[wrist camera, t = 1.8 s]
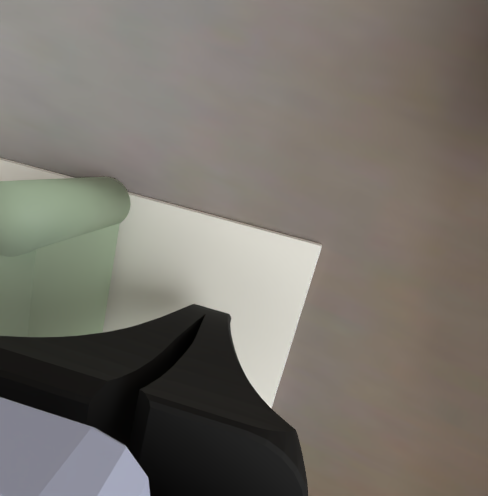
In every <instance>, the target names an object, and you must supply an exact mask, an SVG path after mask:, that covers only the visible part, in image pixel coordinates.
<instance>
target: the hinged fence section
mask: <svg viewBox="0 0 488 496" xmlns="http://www.w3.org/2000/svg"><path fill="white" fill-rule="evenodd" d="M129 211H130V197H129V194H128V191H127V190H126V188H125V187H124V185H123V184H122V183H120V182H119V181H118V180H116V179H114V178H111V177H85V178H62V179H40V180H17V181H0V336H16V337H65V336H79V335H87V334H95V333H102V332H103V326H104V320H105V313H106V307H107V301H108V294H109V288H110V282H111V275H112V269H113V263H114V256H115V250H116V244H117V237H118V231H119V225H120V223H121V222H122V221H123V220H124V219H125V218H126V217H127V215H128V213H129Z"/></svg>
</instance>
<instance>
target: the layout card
mask: <svg viewBox="0 0 488 496" xmlns="http://www.w3.org/2000/svg"><path fill="white" fill-rule="evenodd" d="M62 178H74V177H71V176H67V175H63V174H59V173H56V172H52V171H48V170H45V169H41V168H37V167H33V166H30V165H26V164H22V163H19V162H15V161H11V160H7V159H4V158H0V181H17V180H40V179H62ZM128 194H129V197H130V211H129V213H128V215H127V217H126V218H125V219H124V220H123V221H122V222H121V223H120V225H119V231H118V237H117V244H116V250H115V256H114V263H113V269H112V275H111V282H110V288H109V294H108V301H107V307H106V313H105V320H104V326H103V332H109V331H114V330H119V329H124V328H128V327H132V326H135V325H139V324H142V323H145V322H148V321H151V320H154V319H157V318H160V317H162V316H165V315H167V314H170V313H172V312H175V311H177V310H180V309H182V308H184V307H187V306H189V305H192V304H197V305H200V306H204V307H207V308H211V309H214V310H218V311H221V312H225V313H228V314H230V316H231V322H230V328H231V335H232V340H233V344H234V348H235V351H236V354H237V357H238V360H239V362H240V365H241V367H242V369H243V371H244V373H245V375H246V377H247V379H248V380H249V382H250V383H251V385H252V386H253V388H254V389H255V390H256V392H257V393H258V394H259V395H260V397H261V398H262V399H263V400H264V401H265V402H266V403H267V405H268V406H269V407H270V408H272V405H273V401H274V398H275V395H276V392H277V389H278V385H279V382H280V379H281V376H282V373H283V369H284V366H285V363H286V360H287V357H288V353H289V350H290V347H291V344H292V340H293V337H294V334H295V331H296V328H297V324H298V321H299V318H300V315H301V312H302V308H303V305H304V302H305V299H306V296H307V292H308V289H309V286H310V283H311V279H312V276H313V273H314V270H315V267H316V263H317V260H318V257H319V254H320V251H321V247H322V245H321V244H320V243H316V242H312V241H309V240H305V239H301V238H297V237H294V236H290V235H286V234H283V233H279V232H275V231H271V230H268V229H264V228H260V227H257V226H253V225H249V224H245V223H242V222H238V221H234V220H230V219H227V218H223V217H219V216H216V215H212V214H208V213H204V212H201V211H197V210H193V209H190V208H186V207H182V206H178V205H175V204H171V203H167V202H164V201H160V200H156V199H152V198H149V197H145V196H141V195H138V194H134V193H130V192H128ZM103 332H102V333H103Z"/></svg>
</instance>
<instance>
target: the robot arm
mask: <svg viewBox="0 0 488 496" xmlns="http://www.w3.org/2000/svg"><path fill="white" fill-rule="evenodd" d="M230 322H231V316H230V314H228V313H225V312H221V311H218V310H214V309H211V308H207V307H204V306H200V305H197V304H192V305H189V306H187V307H184V308H182V309H180V310H177V311H175V312H172V313H170V314H167V315H165V316H162V317H160V318H157V319H154V320H151V321H148V322H145V323H142V324H139V325H135V326H132V327H128V328H124V329H119V330H114V331H109V332H103V333H95V334H87V335H79V336H65V337H16V336H0V496H308V487H307V478H306V472H305V466H304V461H303V456H302V451H301V447H300V443H299V439H298V435H297V432H296V430H295V429H294V428H293V427H292V426H290V425H289V424H288V423H287V422H286V421H285V420H283V419H282V418H281V417H280V416H279V415H278V414H276V413H275V412H274V411H273V410H272V409H271V408H270V407H269V406H268V405H267V403H266V402H265V401H264V400H263V399H262V398H261V397H260V395H259V394H258V393H257V392H256V390H255V389H254V388H253V386H252V385H251V383H250V382H249V380H248V379H247V377H246V375H245V373H244V371H243V369H242V367H241V365H240V362H239V360H238V357H237V354H236V351H235V348H234V344H233V340H232V335H231V328H230Z"/></svg>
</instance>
